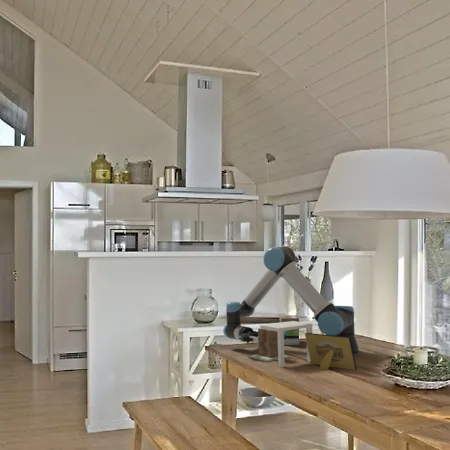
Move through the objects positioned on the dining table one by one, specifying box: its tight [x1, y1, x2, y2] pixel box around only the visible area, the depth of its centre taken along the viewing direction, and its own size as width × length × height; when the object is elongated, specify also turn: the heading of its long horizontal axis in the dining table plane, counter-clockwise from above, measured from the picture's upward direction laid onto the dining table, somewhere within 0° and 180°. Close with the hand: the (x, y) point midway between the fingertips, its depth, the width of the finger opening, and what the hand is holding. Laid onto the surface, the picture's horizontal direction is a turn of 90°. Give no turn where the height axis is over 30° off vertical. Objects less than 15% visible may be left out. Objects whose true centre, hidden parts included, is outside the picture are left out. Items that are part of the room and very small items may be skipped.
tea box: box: [278, 314, 300, 346], centre depth 339 cm, size 15×10×15 cm, turn 179°
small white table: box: [259, 321, 313, 368], centre depth 288 cm, size 14×20×18 cm
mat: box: [249, 353, 290, 362], centre depth 299 cm, size 14×14×1 cm
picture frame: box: [304, 332, 357, 371], centre depth 271 cm, size 23×9×15 cm, turn 47°
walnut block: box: [257, 328, 278, 358], centre depth 300 cm, size 9×6×13 cm, turn 33°
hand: (269, 338), depth 299 cm, fingers open, 13 cm apart
